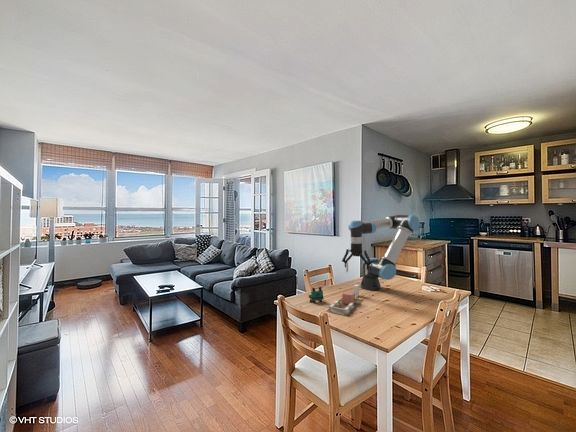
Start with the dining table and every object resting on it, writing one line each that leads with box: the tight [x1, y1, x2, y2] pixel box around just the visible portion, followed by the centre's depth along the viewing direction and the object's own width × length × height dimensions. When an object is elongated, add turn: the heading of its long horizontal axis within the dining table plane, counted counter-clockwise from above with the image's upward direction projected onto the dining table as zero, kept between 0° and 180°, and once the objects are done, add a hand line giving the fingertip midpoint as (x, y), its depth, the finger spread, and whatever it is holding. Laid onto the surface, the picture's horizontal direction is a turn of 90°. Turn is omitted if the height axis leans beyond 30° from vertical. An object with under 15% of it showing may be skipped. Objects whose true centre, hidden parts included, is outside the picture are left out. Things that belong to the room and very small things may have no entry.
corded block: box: [341, 284, 360, 304], centre depth 172 cm, size 22×6×8 cm, turn 148°
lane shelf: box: [326, 297, 364, 317], centre depth 162 cm, size 30×14×4 cm, turn 148°
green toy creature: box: [308, 286, 324, 304], centre depth 170 cm, size 9×11×10 cm
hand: (356, 273), depth 180 cm, fingers open, 13 cm apart
